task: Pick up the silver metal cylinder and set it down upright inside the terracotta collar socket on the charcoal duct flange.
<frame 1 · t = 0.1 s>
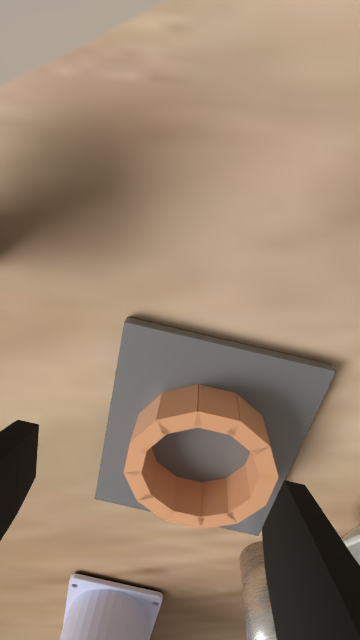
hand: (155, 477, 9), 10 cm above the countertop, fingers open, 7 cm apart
duct flange: (200, 434, 21), on the countertop
silver metal cylinder: (268, 560, 25), on the countertop
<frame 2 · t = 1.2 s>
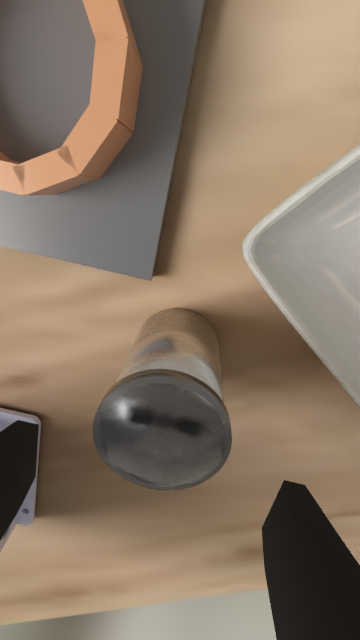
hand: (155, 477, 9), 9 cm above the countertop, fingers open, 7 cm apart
duct flange: (42, 82, 13), on the countertop
silver metal cylinder: (177, 346, 17), on the countertop
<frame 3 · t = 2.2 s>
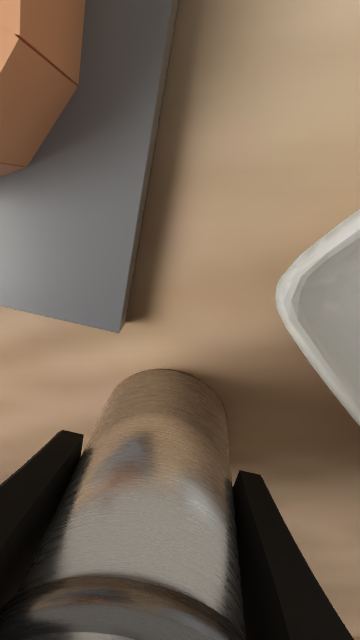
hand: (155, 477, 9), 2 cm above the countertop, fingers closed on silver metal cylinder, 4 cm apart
silver metal cylinder: (164, 422, 12), on the countertop, touching gripper
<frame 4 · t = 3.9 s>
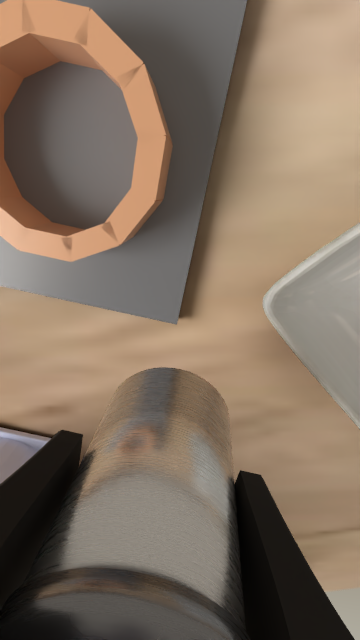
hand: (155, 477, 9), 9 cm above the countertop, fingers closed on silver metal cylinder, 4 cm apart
duct flange: (81, 154, 15), on the countertop
silver metal cylinder: (168, 420, 12), point 7 cm above the countertop, touching gripper
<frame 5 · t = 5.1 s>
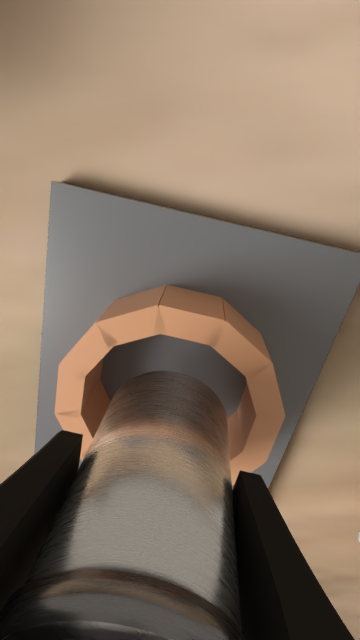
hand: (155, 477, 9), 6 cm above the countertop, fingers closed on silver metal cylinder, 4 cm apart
duct flange: (174, 370, 15), on the countertop
silver metal cylinder: (167, 422, 12), point 4 cm above the countertop, touching gripper
when the fingers open (5 cm above the countertop, at t = 5.8 s): silver metal cylinder drops 1 cm, resting on duct flange.
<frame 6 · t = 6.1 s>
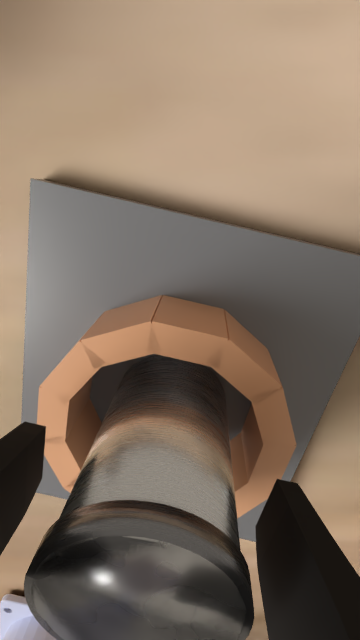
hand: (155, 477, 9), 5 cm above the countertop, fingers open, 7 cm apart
duct flange: (171, 387, 14), on the countertop
silver metal cylinder: (170, 402, 13), point 1 cm above the countertop, touching duct flange
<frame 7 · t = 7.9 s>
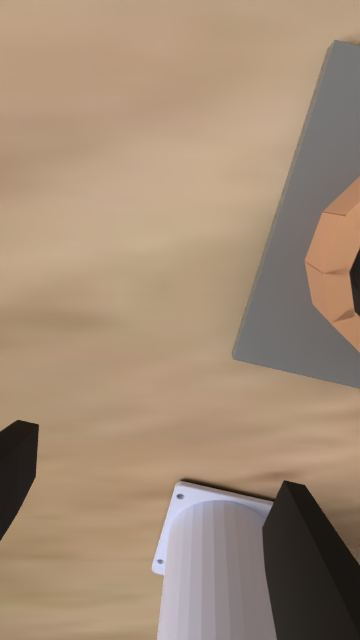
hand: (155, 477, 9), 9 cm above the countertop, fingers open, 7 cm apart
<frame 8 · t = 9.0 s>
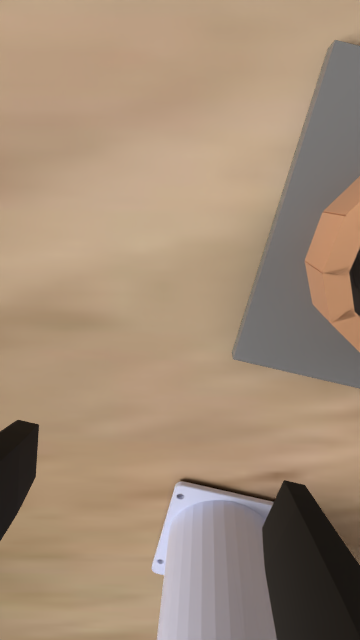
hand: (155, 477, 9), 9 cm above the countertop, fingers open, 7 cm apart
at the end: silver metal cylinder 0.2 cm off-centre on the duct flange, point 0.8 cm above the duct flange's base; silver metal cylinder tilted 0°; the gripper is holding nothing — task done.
